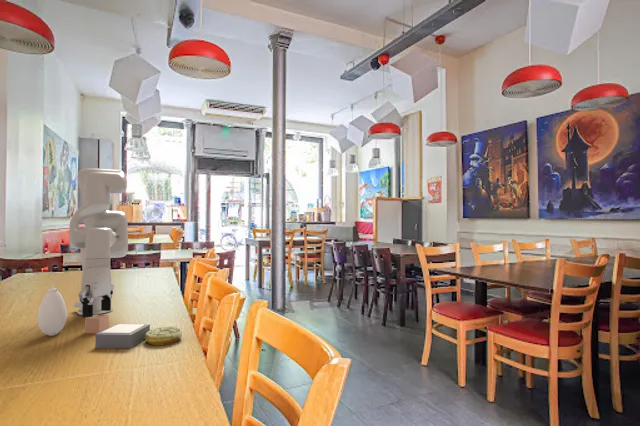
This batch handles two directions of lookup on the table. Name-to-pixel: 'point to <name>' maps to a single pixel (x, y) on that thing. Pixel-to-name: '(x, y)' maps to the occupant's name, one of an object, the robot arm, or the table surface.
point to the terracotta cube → (96, 323)
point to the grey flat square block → (121, 336)
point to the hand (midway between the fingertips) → (97, 313)
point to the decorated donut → (163, 335)
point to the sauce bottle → (52, 312)
